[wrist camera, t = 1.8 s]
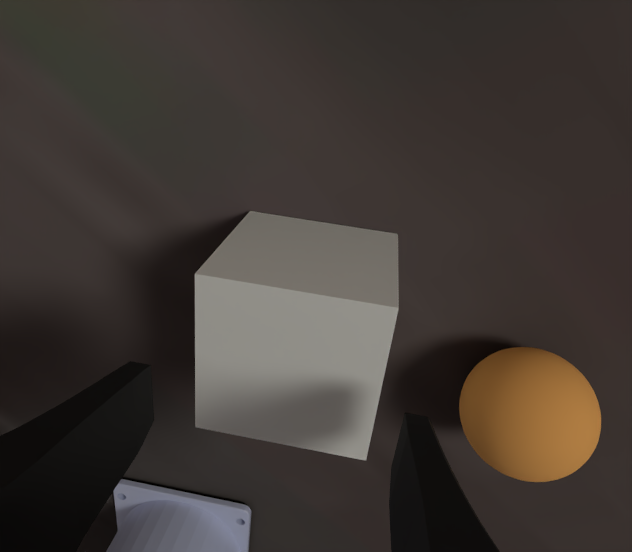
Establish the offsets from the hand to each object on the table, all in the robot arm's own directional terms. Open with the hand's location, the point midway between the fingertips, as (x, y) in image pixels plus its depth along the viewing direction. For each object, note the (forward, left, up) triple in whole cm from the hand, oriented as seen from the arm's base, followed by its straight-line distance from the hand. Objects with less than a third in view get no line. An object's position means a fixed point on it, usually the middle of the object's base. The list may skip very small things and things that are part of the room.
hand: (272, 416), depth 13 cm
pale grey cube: (0, 0, -8) cm, 8 cm away
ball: (-3, -9, -6) cm, 11 cm away
